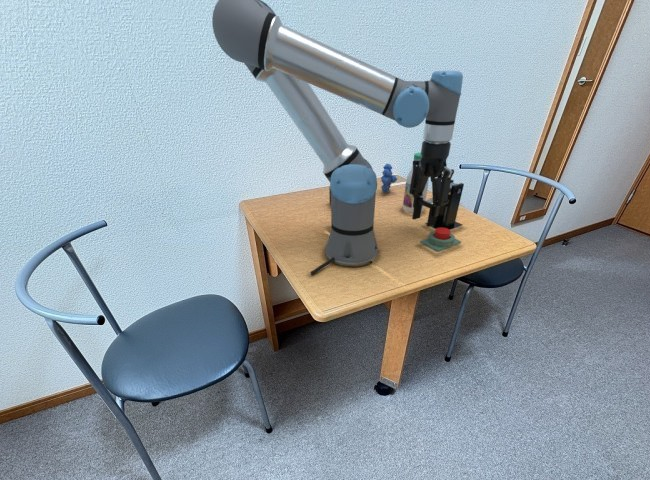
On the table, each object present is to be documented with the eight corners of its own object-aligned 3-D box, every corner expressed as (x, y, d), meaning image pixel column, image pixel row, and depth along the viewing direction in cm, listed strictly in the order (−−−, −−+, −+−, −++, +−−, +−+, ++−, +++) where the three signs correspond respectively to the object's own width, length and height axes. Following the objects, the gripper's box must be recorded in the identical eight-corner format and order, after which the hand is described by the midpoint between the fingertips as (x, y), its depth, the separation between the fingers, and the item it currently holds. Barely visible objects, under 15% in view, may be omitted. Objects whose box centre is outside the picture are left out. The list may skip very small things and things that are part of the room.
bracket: (442, 235, 104) (451, 189, 95) (423, 226, 109) (431, 182, 100) (462, 228, 108) (474, 183, 99) (444, 220, 114) (453, 176, 105)
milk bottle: (422, 208, 122) (431, 151, 110) (424, 216, 116) (435, 157, 104) (401, 207, 123) (408, 150, 111) (402, 215, 117) (410, 156, 105)
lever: (430, 211, 97) (430, 204, 95) (417, 205, 100) (417, 198, 99) (461, 192, 100) (462, 185, 99) (447, 187, 104) (448, 180, 102)
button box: (437, 255, 94) (439, 245, 92) (419, 245, 99) (420, 235, 97) (460, 246, 98) (463, 236, 96) (441, 237, 103) (444, 227, 101)
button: (442, 241, 94) (443, 235, 93) (430, 236, 97) (432, 229, 96) (452, 237, 96) (454, 231, 95) (441, 232, 99) (442, 226, 98)
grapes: (394, 198, 130) (397, 167, 123) (377, 197, 131) (379, 166, 124) (397, 189, 139) (400, 159, 131) (381, 188, 140) (384, 158, 133)
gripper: (474, 145, 83) (454, 229, 97) (421, 133, 95) (411, 209, 109) (454, 149, 80) (437, 236, 94) (402, 136, 92) (394, 214, 106)
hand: (423, 221), depth 102 cm, fingers closed on lever, 5 cm apart
